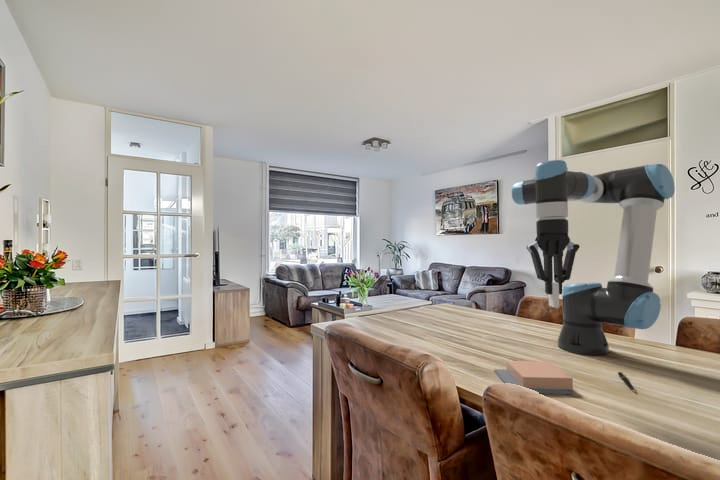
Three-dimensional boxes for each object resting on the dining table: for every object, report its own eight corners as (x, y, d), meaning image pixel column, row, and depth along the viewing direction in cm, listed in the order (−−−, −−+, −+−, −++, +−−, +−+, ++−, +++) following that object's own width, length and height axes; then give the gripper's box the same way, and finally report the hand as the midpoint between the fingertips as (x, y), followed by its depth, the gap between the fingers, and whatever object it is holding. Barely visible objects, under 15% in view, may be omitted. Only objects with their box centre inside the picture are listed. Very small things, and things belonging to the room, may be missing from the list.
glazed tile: (549, 361, 98) (506, 360, 99) (572, 378, 86) (523, 377, 87) (550, 372, 98) (506, 371, 99) (572, 390, 86) (523, 388, 87)
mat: (543, 372, 100) (543, 370, 100) (571, 394, 85) (571, 392, 85) (494, 370, 101) (493, 369, 101) (512, 393, 86) (512, 391, 86)
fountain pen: (638, 395, 85) (638, 389, 85) (632, 394, 85) (632, 388, 85) (621, 374, 98) (621, 369, 98) (616, 374, 98) (616, 369, 98)
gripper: (570, 219, 96) (572, 303, 96) (521, 220, 97) (523, 304, 97) (585, 217, 88) (587, 309, 88) (532, 218, 90) (534, 309, 90)
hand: (554, 306), depth 93 cm, fingers closed
